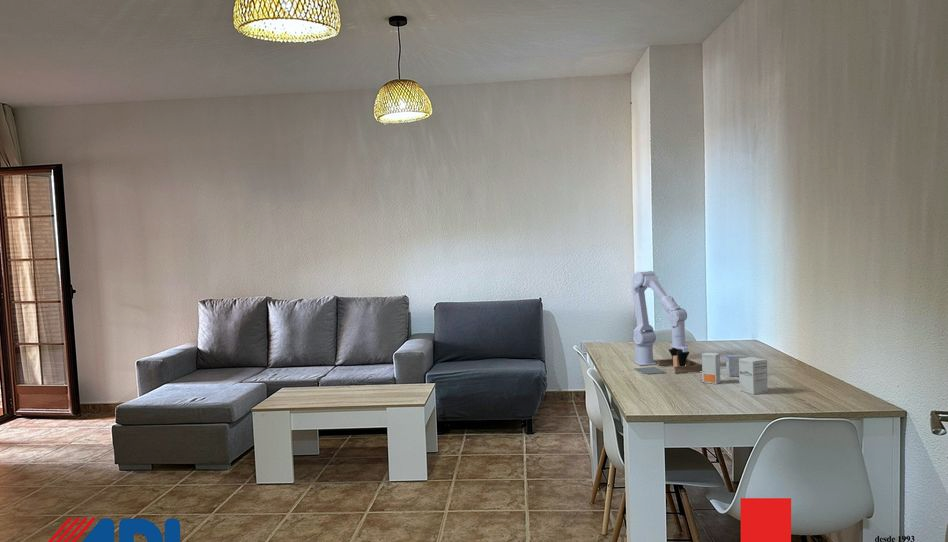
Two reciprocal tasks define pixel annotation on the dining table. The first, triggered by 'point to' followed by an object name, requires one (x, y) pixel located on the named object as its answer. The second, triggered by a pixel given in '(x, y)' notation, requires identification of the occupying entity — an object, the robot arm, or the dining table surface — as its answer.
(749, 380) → the supplement box
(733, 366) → the medicine box
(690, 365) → the open side frame
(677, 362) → the terracotta block
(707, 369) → the skincare box
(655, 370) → the grey mat
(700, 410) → the dining table surface
